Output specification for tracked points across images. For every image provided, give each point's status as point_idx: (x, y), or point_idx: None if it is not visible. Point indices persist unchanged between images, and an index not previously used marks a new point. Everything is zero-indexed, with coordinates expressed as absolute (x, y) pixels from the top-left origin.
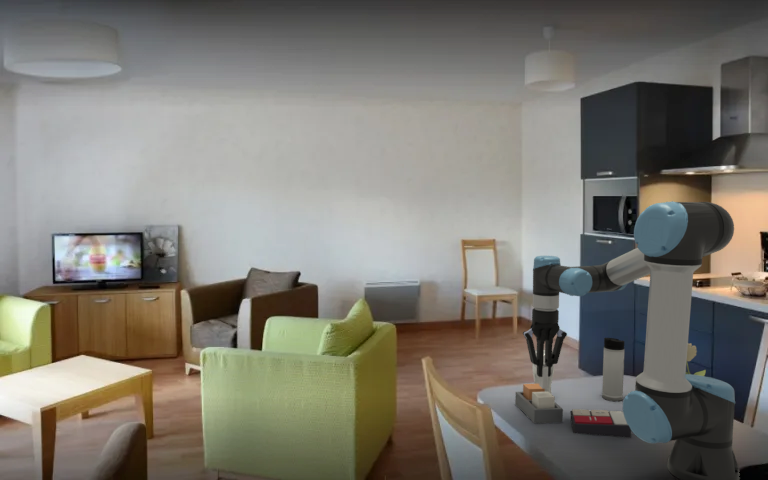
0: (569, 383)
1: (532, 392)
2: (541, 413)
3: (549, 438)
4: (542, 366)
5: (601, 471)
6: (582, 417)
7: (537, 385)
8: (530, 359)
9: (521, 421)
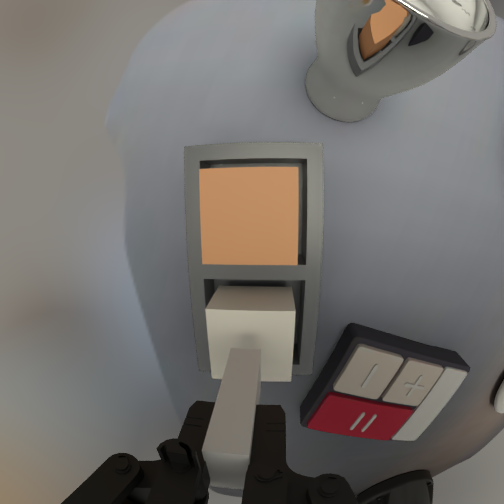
0: None
1: (206, 312)
2: None
3: None
4: (209, 478)
5: None
6: (343, 411)
7: (277, 201)
8: (101, 468)
9: (175, 322)
